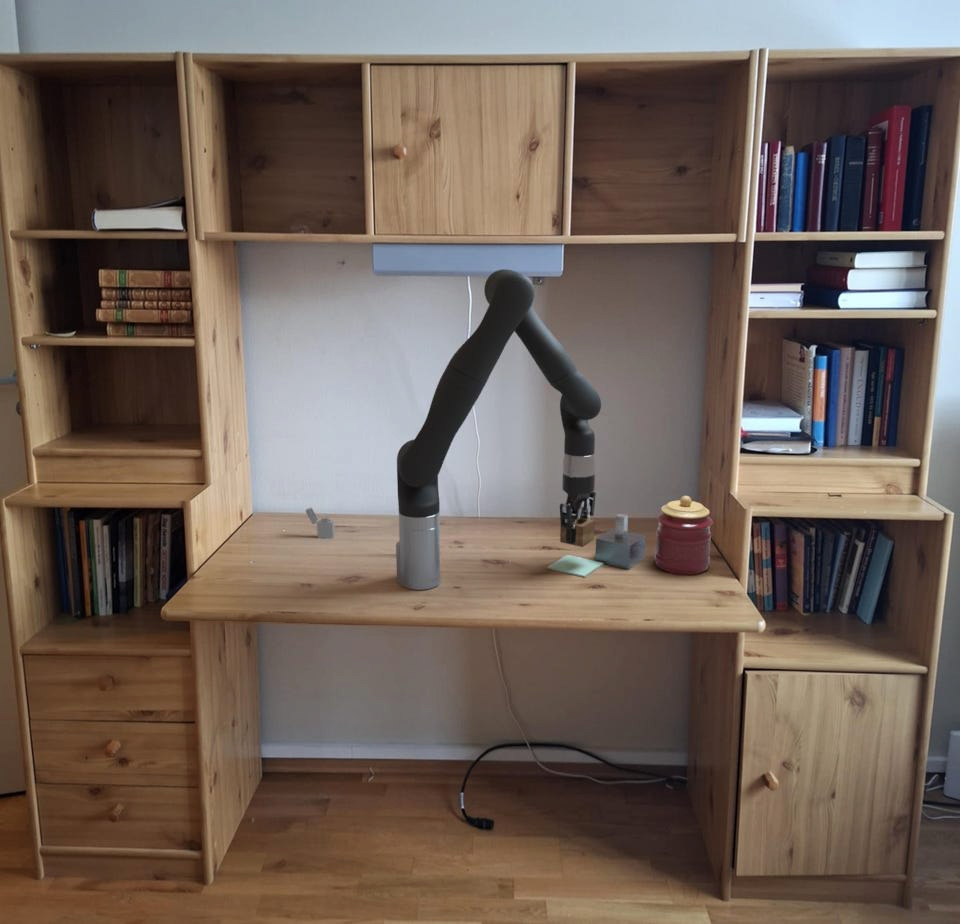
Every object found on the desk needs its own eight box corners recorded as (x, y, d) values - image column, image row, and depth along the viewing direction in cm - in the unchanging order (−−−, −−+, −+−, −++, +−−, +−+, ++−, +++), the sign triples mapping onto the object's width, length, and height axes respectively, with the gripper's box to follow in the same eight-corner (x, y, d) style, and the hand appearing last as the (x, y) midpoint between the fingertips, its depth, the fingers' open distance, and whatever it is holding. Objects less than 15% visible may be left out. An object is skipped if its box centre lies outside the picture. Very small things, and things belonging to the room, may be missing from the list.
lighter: (334, 536, 233) (333, 507, 230) (333, 538, 231) (331, 509, 229) (308, 535, 233) (306, 506, 231) (306, 537, 231) (305, 508, 229)
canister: (698, 579, 204) (703, 507, 199) (646, 568, 210) (649, 498, 206) (716, 562, 214) (721, 493, 210) (665, 552, 221) (669, 485, 217)
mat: (547, 568, 210) (547, 567, 210) (567, 556, 218) (567, 554, 218) (584, 577, 205) (584, 575, 205) (603, 564, 213) (603, 562, 213)
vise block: (595, 561, 215) (596, 517, 212) (611, 550, 222) (613, 507, 219) (629, 569, 210) (631, 523, 207) (644, 558, 217) (646, 514, 214)
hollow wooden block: (560, 542, 209) (560, 522, 208) (572, 535, 214) (572, 515, 213) (582, 547, 206) (583, 526, 205) (594, 539, 211) (594, 520, 209)
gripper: (578, 462, 213) (577, 528, 218) (549, 476, 202) (548, 544, 206) (606, 467, 209) (604, 533, 213) (578, 481, 198) (576, 551, 202)
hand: (577, 538), depth 210 cm, fingers closed on hollow wooden block, 6 cm apart
